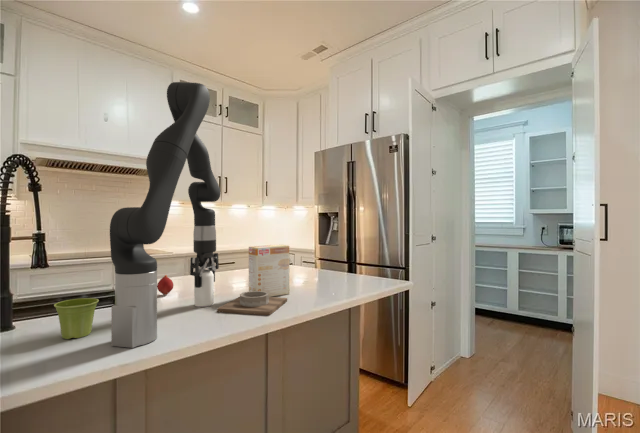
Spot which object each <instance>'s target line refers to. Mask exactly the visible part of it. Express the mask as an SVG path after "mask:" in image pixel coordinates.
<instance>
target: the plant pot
mask: <svg viewBox="0 0 640 433" xmlns="http://www.w3.org/2000/svg"><path fill="white" fill-rule="evenodd" d="M99 301H100V300H99V299H98V298H94V297H85V298H72V299H66V300H61V301H58V302H57V303H54V304H53V307H54V308H55V309H56V312H57V315H58V320H59V322H58V323H59V327H60V333H61V338H62V339H66V340H71V339H72V338H75V339H79V338H84V337H87V336H88V335H90V334H91V333H92V328H93V323H94V315H95V312H96V311H95V310H96V308H97V305H98V303H99Z"/></svg>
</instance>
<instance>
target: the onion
mask: <svg viewBox="0 0 640 433" xmlns="http://www.w3.org/2000/svg"><path fill="white" fill-rule="evenodd" d="M173 289H174V282H173V279H171V278H170V277H168V276H167V274H164V276H163V277H162V278H161V279H159V281H157V291H158V292H160V293H161V294H162V295H163V296H167V295H169V294H170V292H171V291H172V290H173Z"/></svg>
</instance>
